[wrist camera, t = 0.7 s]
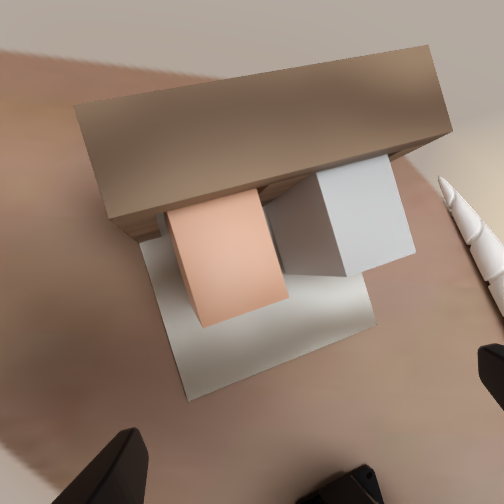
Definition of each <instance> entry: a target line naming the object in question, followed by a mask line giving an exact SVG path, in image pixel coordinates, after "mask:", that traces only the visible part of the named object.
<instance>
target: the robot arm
mask: <svg viewBox="0 0 504 504" xmlns="http://www.w3.org/2000/svg"><path fill="white" fill-rule="evenodd" d="M478 372H479V377H480V379H481V381H482V383H483V384H484V386H485V387H486V388H487V390H488V391H489V392H490V394H491V395H492V396H493V398H494V399H495V400H496V401H497V403H498V404H499V405H500V407H501V408H502V409H503V411H504V345H500V344H497V343H493V344H489V345H484V346H481V347H479V349H478ZM148 461H149V456H148V451H147V448H146V446H145V443H144V441H143V439H142V436H141V434H140V431H139V430H138V429H137V428H135V427H134V428H129V429H125V430H122V431H120V432H119V433H118V434H117V435H116V436H115V437H114V438H113V439H112V440H111V441H110V442H109V443H108V444H107V445H106V446H105V448H104V449H103V450H102V451H101V452H100V453H99V454H98V455H97V456H96V457H95V458H94V459H93V460H92V461H91V462H90V463H89V464H88V465H87V466H86V468H85V469H84V470H83V471H82V472H81V473H80V474H79V475H78V476H77V477H76V478H75V479H74V480H73V481H72V482H71V483H70V484H69V485H68V486H67V488H66V489H65V490H64V491H63V492H62V493H61V494H60V495H59V496H58V497H57V498H56V499H55V500H54V501H53V502H52V504H144V495H145V487H146V478H147V470H148ZM368 472H369V474H368V475H366V474H367V473H368ZM296 504H384V502H383V498H382V495H381V492H380V488H379V485H378V482H377V478H376V475H375V472H374V470H373V469H372V468H371V467H370V466H368V465H366V466H363V467H361V468H359V469H357V470H355V471H353V472H352V473H350V474H348V475H346V476H344V477H342V478H340V479H338V480H336V481H334V482H332V483H331V484H329V485H327V486H325V487H323V488H321V489H319V490H317V491H315V492H313V493H311V494H310V495H308V496H306V497H304V498H302V499H300V500H298V501H297V502H296Z"/></svg>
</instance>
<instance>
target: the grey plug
mask: <svg viewBox="0 0 504 504" xmlns="http://www.w3.org/2000/svg"><path fill="white" fill-rule="evenodd" d="M265 206H266V210H267V213H268V216H269V220H270V223H271V226H272V229H273V233H274V236H275V239H276V243H277V246H278V249H279V253H280V256H281V259H282V263H283V266H284V269H285V273H286V274H288V275H310V276H333V277H349V276H352V275H355V274H357V273H360V272H363V271H366V270H369V269H371V268H374V267H377V266H380V265H383V264H386V263H388V262H391V261H394V260H397V259H400V258H402V257H405V256H408V255H411V254H414V253H416V250H415V247H414V243H413V240H412V236H411V233H410V230H409V226H408V223H407V219H406V216H405V212H404V209H403V206H402V202H401V199H400V195H399V192H398V189H397V185H396V182H395V178H394V175H393V171H392V168H391V165H390V161H389V158H388V154H386V155H382V156H378V157H374V158H370V159H366V160H363V161H359V162H355V163H351V164H347V165H343V166H339V167H336V168H332V169H328V170H324V171H320V172H316V173H312V174H310V175H309V176H307V177H306V178H304V179H303V180H302V181H300V182H299V183H297V184H296V185H294V186H293V187H291V188H290V189H288V190H287V191H285V192H284V193H283V194H281V195H280V196H278V197H277V198H275V199H274V200H272V201H271V202H269V203H268V204H266V205H265Z"/></svg>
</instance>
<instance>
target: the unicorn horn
mask: <svg viewBox="0 0 504 504" xmlns="http://www.w3.org/2000/svg"><path fill="white" fill-rule="evenodd" d="M438 181H439V184H440V188H441V190H442V192H443V195H444V198H445V200H446V202H447V204H448V207H449V208H450V209H452V212H451V213H452V215H453V217H454V220H455V222H456V224H457V226H458V228H459V230H460V232H461V234H462V236H463V238H464V240H465V242H466V244H467V245H471V248H470V252H471V254H472V256H473V258H474V260H475V262H476V264H477V267H478V269H479V271H480V273H481V275H482V277H483V278H484V280H485V281H489V283H490V285H489V286H488V288H489V290H490V292H491V294H492V296H493V298H494V300H495V302H496V304H497V306H498V308H499V310H500V312H501V314H502V315H503V317H504V245H503V244H502V243H501V241H500V240H499V239H498V238H497V237H496V236H495V234H494V233H493V232H492V231H491V230H490V228H489V227H488V226H487V225H486V224H485V223H484V221H483V220H481V219H480V217H479V216H478V214H477V213H476V212H475V211H474V210H473V209H472V207H471V206H470V205H469V204H468V203H467V202H466V201H465V200H464V198H463V197H462V196H461V195H460V194H459V193H458V192H457V191H456V190H455V189H454V188H452V186H451V185H450V184H449V183H448V182H447V181H446V180H445V179H444V178H442V177H440V176H438Z"/></svg>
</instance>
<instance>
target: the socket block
mask: <svg viewBox="0 0 504 504" xmlns="http://www.w3.org/2000/svg"><path fill="white" fill-rule="evenodd" d="M73 106H74V110H75V113H76V116H77V119H78V122H79V126H80V129H81V132H82V135H83V138H84V142H85V145H86V148H87V151H88V154H89V158H90V161H91V164H92V167H93V170H94V174H95V177H96V180H97V183H98V187H99V190H100V193H101V196H102V199H103V203H104V206H105V209H106V212H107V215H108V219H109V220H111V221H112V222H113V223H114V224H116V225H117V226H118V227H119V228H121V229H122V230H123V231H125V232H126V233H127V234H128V235H130V236H131V237H132V238H133V239H135V240H136V241H137V242H138V243H139V245H140V248H141V251H142V254H143V257H144V261H145V264H146V267H147V270H148V274H149V277H150V280H151V283H152V286H153V290H154V293H155V296H156V299H157V303H158V306H159V309H160V312H161V315H162V319H163V322H164V325H165V328H166V332H167V335H168V338H169V341H170V344H171V348H172V351H173V354H174V357H175V361H176V364H177V367H178V370H179V373H180V377H181V380H182V383H183V386H184V390H185V393H186V396H187V399H188V402H189V401H191V400H194V399H196V398H198V397H201V396H203V395H206V394H208V393H211V392H213V391H216V390H218V389H221V388H223V387H226V386H228V385H230V384H233V383H235V382H238V381H240V380H243V379H245V378H248V377H250V376H253V375H255V374H258V373H260V372H262V371H265V370H267V369H270V368H272V367H275V366H277V365H280V364H282V363H285V362H287V361H290V360H292V359H295V358H297V357H299V356H302V355H304V354H307V353H309V352H312V351H314V350H317V349H319V348H322V347H324V346H327V345H329V344H331V343H334V342H336V341H339V340H341V339H344V338H346V337H349V336H351V335H354V334H356V333H359V332H361V331H363V330H366V329H368V328H371V327H373V326H376V325H377V323H376V320H375V316H374V313H373V309H372V306H371V303H370V299H369V296H368V293H367V289H366V286H365V282H364V279H363V276H362V272H360V273H357V274H355V275H352V276H349V277H333V276H310V275H288V274H286V273H285V269H284V266H283V263H282V259H281V256H280V253H279V249H278V246H277V243H276V239H275V236H274V233H273V229H272V226H271V223H270V220H269V216H268V213H267V210H266V206H265V205H266V204H268V203H269V202H271V201H272V200H274V199H275V198H277V197H278V196H280V195H281V194H283V193H284V192H285V191H287V190H288V189H290V188H291V187H293V186H294V185H296V184H297V183H299V182H300V181H302V180H303V179H304V178H306V177H307V176H309V175H310V174H312V173H316V172H320V171H324V170H328V169H332V168H336V167H339V166H343V165H347V164H351V163H355V162H359V161H363V160H366V159H370V158H374V157H378V156H382V155H386V154H388V158H389V161H390V162H391V161H393V160H395V159H397V158H399V157H401V156H404V155H406V154H407V153H410V152H412V151H414V150H416V149H417V148H420V147H422V146H424V145H426V144H428V143H430V142H432V141H434V140H436V139H438V138H440V137H442V136H444V135H446V134H448V133H450V132H452V131H453V129H452V126H451V123H450V119H449V115H448V112H447V108H446V105H445V102H444V98H443V95H442V91H441V88H440V84H439V81H438V77H437V74H436V70H435V67H434V63H433V60H432V56H431V53H430V50H429V46H428V45H425V46H419V47H413V48H407V49H401V50H395V51H389V52H384V53H377V54H371V55H366V56H360V57H354V58H348V59H342V60H336V61H331V62H324V63H318V64H313V65H307V66H301V67H295V68H289V69H283V70H277V71H272V72H265V73H260V74H254V75H248V76H242V77H236V78H230V79H224V80H218V81H212V82H207V83H201V84H195V85H189V86H183V87H177V88H171V89H165V90H159V91H154V92H148V93H142V94H136V95H130V96H124V97H118V98H112V99H106V100H101V101H95V102H89V103H83V104H77V105H73ZM255 188H256V189H257V192H258V195H259V199H260V202H261V205H262V209H263V212H264V215H265V219H266V222H267V225H268V229H269V232H270V235H271V238H272V242H273V245H274V248H275V252H276V255H277V258H278V262H279V265H280V268H281V272H282V275H283V278H284V282H285V285H286V288H287V291H288V295H289V298H287V299H284V300H281V301H279V302H276V303H273V304H270V305H267V306H265V307H262V308H259V309H256V310H253V311H250V312H248V313H245V314H242V315H239V316H236V317H234V318H231V319H228V320H225V321H222V322H219V323H217V324H214V325H211V326H208V327H205V328H202V326H201V324H200V322H199V320H198V318H197V316H196V314H195V312H194V311H193V309H192V307H191V304H190V301H189V297H188V294H187V291H186V288H185V284H184V281H183V278H182V275H181V271H180V268H179V265H178V262H177V258H176V255H175V252H174V249H173V245H172V242H171V239H170V236H169V233H168V229H167V226H166V223H165V219H164V212H166V211H170V210H174V209H178V208H181V207H185V206H189V205H193V204H197V203H201V202H205V201H208V200H212V199H216V198H220V197H224V196H228V195H232V194H235V193H239V192H243V191H247V190H251V189H255Z"/></svg>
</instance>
